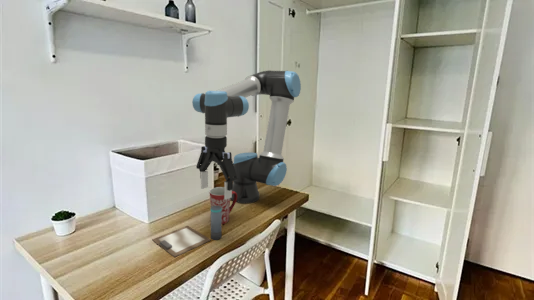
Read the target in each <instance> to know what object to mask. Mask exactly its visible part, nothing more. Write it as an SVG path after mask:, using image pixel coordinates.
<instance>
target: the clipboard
mask: <svg viewBox="0 0 534 300" xmlns="http://www.w3.org/2000/svg"><path fill="white" fill-rule="evenodd" d="M211 240H212V239H211V238H209V237H207V236H205V235H204V234H202V233H200V232H199V231H198V230H196V229H194V228H193V227H191V226H189V225H186V226H183V227H181V228H178V229H176V230H173V231H171V232H167V233H165V234H163V235H159V236H157V237H154V238H152V241H153V242H154V243H155V244H157V245H158V246H159V247H160V248H162V250H164V251H165V252H167V253H168V254H170V255H171V256H172V257H173V258H177V257H178V256H181V255H183V254H185V253H188V252H189V251H192V250H194V249H196V248H197V247H200V246H202V245H204V244H207V243H209V242H211Z"/></svg>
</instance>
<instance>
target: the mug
mask: <svg viewBox="0 0 534 300" xmlns="http://www.w3.org/2000/svg"><path fill="white" fill-rule="evenodd" d="M208 193H209V200H210V208H211V207H212V206H220V207H222V222H221V225H223V224H224V225H225V224H227V223H228V222H229V221H230V213H231V212H232V210H233V209H234V207H235V205H236V203H237V202H236V201H237V193H236V192H234V191H232V194H234V200H233V201H232V203H231V199H230V198H229V199H224V193H225V186H216V187H212V188H211V189H209V191H208Z"/></svg>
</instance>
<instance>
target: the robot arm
mask: <svg viewBox="0 0 534 300" xmlns="http://www.w3.org/2000/svg"><path fill="white" fill-rule="evenodd" d="M301 85H302V84H301V80H300V75H298V73H297V72H296V71H292V70H269V69H268V70H262V71H260V72H256V73H252V74H251V75H248V76H247V77H245V79H244V80H241V81H238V82H235V83H232V84H230V85H227V86H224V87H222V88H220V89H217V90H207V91H206V92H202V93H196V94H195V95H194V96H193V98H192V108H193V109H194V111H196V112H197V113H200V114H201V113H202V114H204V127H205V128H204V134H205V136H204V145H203V146H201V149H200V150H201V151H200V154H199V158H198V161H197V163H196V169H198V170H199V172H200V173H199V174H200V176H199V178H200V189H207V188H208V187H209V175H208V174H209V171H208V170H209V169H208V168H209V166H210V165H211V163H212V162H214V163H216V164H217V166H219V167H220V170H221V172H222V175H223V176H224V178H225V181H224V187H225V193H224V199H229V198H230V201H232V202H233V200H234V194H232V191H234V192H236V193H237V201H236V203H238V204H251V203H255V202H258V201H259V200H260V191H259V187H258V185H257V183H261V184H265V185H267V186H272V187H276V186H277V187H278V186H279V185H280V184H281V183H282V182H283V180H285V178H286V174H287V171H288V167H287V164H286V163H285V162H284V160H285V159H284V156H283V155H282V152H283V147H284V141H285V134H286V129H287V124H288V118H289V111H290V105H292V104H293V103H294V101H295V98H297V97H299V96H300V93H301V90H302V88H301V87H302V86H301ZM259 95H266V96H269V99H270V101H271V106H270V110H269V118H268V124H267V128H266V129H267V130H266V134H265V140H264V146H263V151H262V152H261V153H259V156H258V153H256V152H253V151H251V152H250V151H249V152H242V153H237V154H235V155H234V157H233V158H232V156H233V155H232V152H231V151H230V152H226V150H225V149H226V147H227V145H228V144H227V143H228V141H227V140H228V138H227V135H228V118H234V117H238V118H239V117H241V116H244V115H246V114H247V113H248V111H249V109H250V103H249V100H248V99H247V98H248V97H250V96H252V97H255V96H259Z"/></svg>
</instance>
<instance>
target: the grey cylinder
mask: <svg viewBox="0 0 534 300" xmlns="http://www.w3.org/2000/svg"><path fill="white" fill-rule="evenodd" d="M221 222H222V207H220V206H212V207H211V206H210V240H212V241H218V240H220V239H222V224H221Z"/></svg>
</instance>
